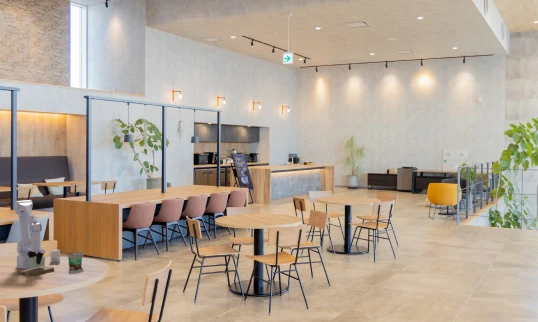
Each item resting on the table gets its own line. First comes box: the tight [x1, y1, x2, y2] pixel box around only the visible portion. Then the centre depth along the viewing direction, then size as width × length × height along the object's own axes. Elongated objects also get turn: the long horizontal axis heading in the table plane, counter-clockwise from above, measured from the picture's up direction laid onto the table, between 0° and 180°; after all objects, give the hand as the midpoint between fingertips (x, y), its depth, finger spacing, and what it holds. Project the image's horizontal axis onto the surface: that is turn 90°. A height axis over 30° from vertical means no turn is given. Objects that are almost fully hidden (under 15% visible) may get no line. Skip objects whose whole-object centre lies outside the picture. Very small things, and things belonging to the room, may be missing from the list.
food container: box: [67, 251, 84, 271], centre depth 343 cm, size 12×6×10 cm, turn 168°
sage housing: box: [28, 255, 46, 268], centre depth 333 cm, size 5×10×6 cm, turn 154°
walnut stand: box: [16, 265, 55, 277], centre depth 333 cm, size 14×16×2 cm
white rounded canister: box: [49, 249, 61, 264], centre depth 362 cm, size 6×6×8 cm
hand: (35, 263), depth 332 cm, fingers closed on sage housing, 5 cm apart
